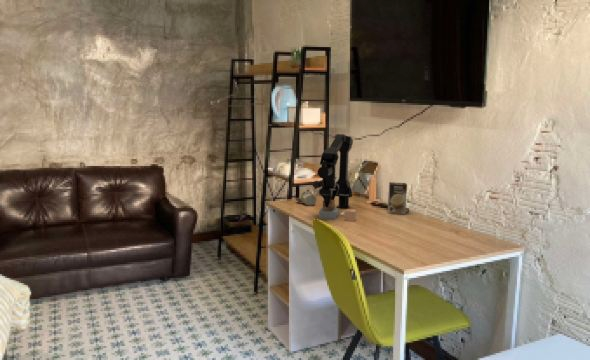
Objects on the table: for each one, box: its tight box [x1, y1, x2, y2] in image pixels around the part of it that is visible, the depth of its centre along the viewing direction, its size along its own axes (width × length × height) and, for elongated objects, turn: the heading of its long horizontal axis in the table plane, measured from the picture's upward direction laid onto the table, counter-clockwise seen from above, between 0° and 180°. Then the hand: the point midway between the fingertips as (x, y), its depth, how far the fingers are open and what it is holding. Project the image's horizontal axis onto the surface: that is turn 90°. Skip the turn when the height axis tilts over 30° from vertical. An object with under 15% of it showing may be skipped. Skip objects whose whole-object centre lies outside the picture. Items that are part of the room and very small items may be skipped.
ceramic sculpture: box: [295, 189, 318, 207], centre depth 294 cm, size 11×9×15 cm
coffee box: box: [387, 182, 408, 215], centre depth 272 cm, size 9×6×16 cm
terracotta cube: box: [344, 208, 358, 222], centre depth 257 cm, size 5×5×5 cm
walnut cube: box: [322, 199, 336, 211], centre depth 262 cm, size 5×5×5 cm
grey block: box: [318, 207, 340, 220], centre depth 263 cm, size 9×9×4 cm
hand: (329, 205), depth 263 cm, fingers open, 9 cm apart
